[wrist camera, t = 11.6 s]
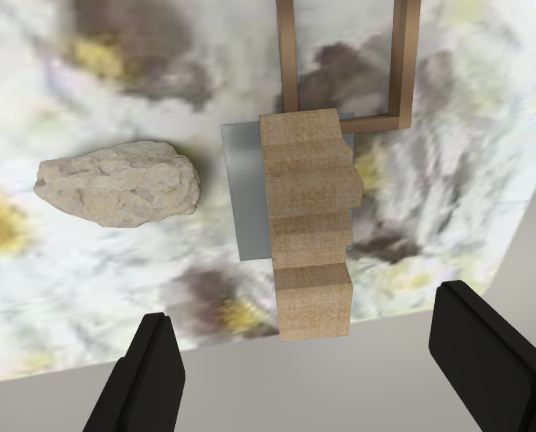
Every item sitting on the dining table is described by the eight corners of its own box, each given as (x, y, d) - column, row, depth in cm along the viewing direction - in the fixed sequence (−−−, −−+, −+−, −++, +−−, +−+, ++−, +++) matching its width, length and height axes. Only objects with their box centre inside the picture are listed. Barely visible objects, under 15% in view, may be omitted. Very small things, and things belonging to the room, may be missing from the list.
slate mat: (221, 125, 28) (220, 125, 27) (352, 112, 28) (354, 112, 27) (240, 259, 33) (240, 261, 33) (350, 248, 33) (351, 249, 33)
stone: (182, 205, 34) (216, 235, 26) (50, 231, 29) (41, 279, 20) (172, 134, 32) (206, 144, 24) (24, 147, 26) (1, 166, 18)
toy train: (326, 99, 25) (368, 139, 16) (323, 261, 34) (348, 341, 25) (257, 106, 25) (263, 149, 16) (272, 266, 34) (281, 348, 25)
